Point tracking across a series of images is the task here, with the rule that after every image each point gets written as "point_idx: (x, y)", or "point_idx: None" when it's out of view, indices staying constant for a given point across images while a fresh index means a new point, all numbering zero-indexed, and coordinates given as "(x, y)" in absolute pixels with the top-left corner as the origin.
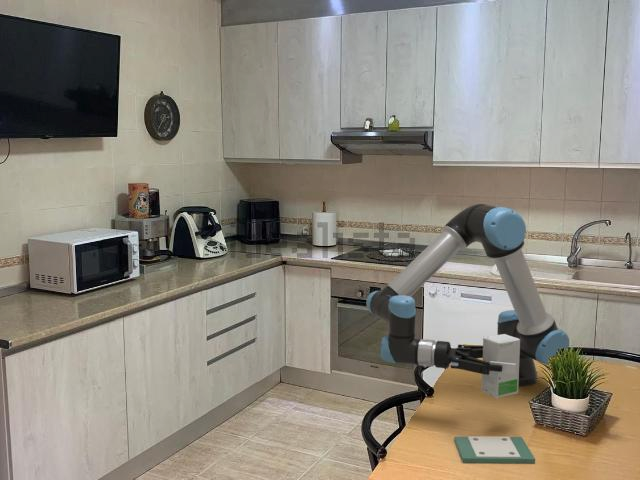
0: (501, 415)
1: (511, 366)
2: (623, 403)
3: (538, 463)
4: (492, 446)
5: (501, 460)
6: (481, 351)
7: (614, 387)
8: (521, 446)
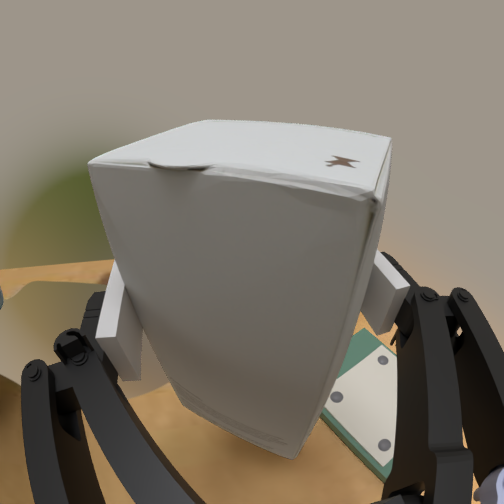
0: None
1: None
2: (58, 272)
3: (356, 330)
4: (387, 400)
5: None
6: (150, 445)
7: (11, 284)
8: None
